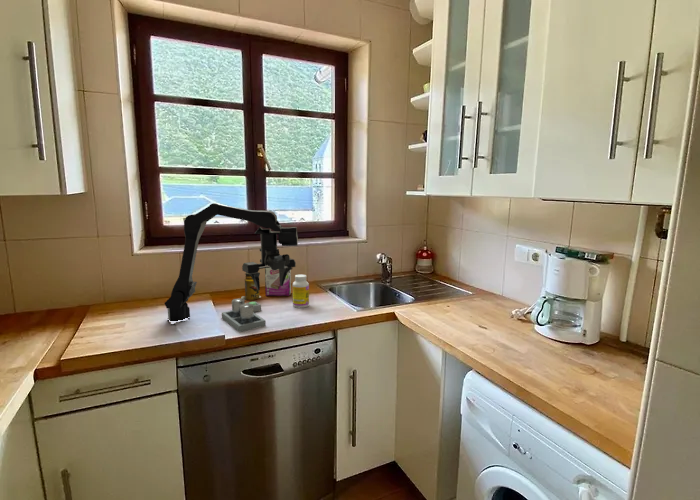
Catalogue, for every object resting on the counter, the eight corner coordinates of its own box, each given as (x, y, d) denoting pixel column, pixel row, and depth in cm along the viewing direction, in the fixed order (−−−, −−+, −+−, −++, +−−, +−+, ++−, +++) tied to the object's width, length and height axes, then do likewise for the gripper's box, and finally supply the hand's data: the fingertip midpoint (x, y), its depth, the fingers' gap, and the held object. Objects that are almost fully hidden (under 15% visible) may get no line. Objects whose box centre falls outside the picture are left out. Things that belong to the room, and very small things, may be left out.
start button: (250, 311, 148) (250, 304, 148) (247, 309, 150) (247, 302, 150) (257, 310, 150) (257, 303, 149) (254, 308, 152) (254, 301, 151)
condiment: (259, 301, 163) (258, 274, 161) (239, 302, 162) (238, 274, 160) (261, 296, 170) (260, 270, 168) (241, 297, 169) (240, 270, 167)
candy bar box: (265, 296, 170) (264, 260, 168) (266, 293, 175) (265, 258, 173) (290, 296, 171) (289, 260, 168) (291, 292, 176) (290, 258, 173)
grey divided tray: (239, 333, 128) (239, 326, 128) (221, 319, 141) (221, 312, 141) (265, 327, 134) (265, 320, 133) (246, 314, 147) (246, 307, 147)
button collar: (249, 314, 147) (248, 307, 146) (244, 311, 151) (243, 303, 150) (261, 311, 150) (261, 304, 149) (256, 308, 154) (255, 301, 153)
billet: (238, 324, 135) (238, 305, 133) (250, 321, 137) (250, 303, 136) (243, 328, 131) (243, 308, 130) (256, 325, 134) (255, 306, 133)
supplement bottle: (307, 308, 154) (307, 277, 152) (291, 308, 154) (291, 277, 152) (309, 303, 161) (309, 273, 159) (294, 303, 161) (293, 273, 159)
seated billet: (235, 321, 137) (234, 302, 136) (230, 318, 141) (229, 299, 140) (247, 319, 140) (246, 300, 139) (242, 315, 144) (241, 297, 142)
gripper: (254, 251, 125) (255, 297, 128) (303, 246, 137) (303, 288, 139) (240, 247, 134) (242, 290, 137) (287, 242, 145) (288, 282, 148)
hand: (270, 287), depth 140 cm, fingers open, 9 cm apart
